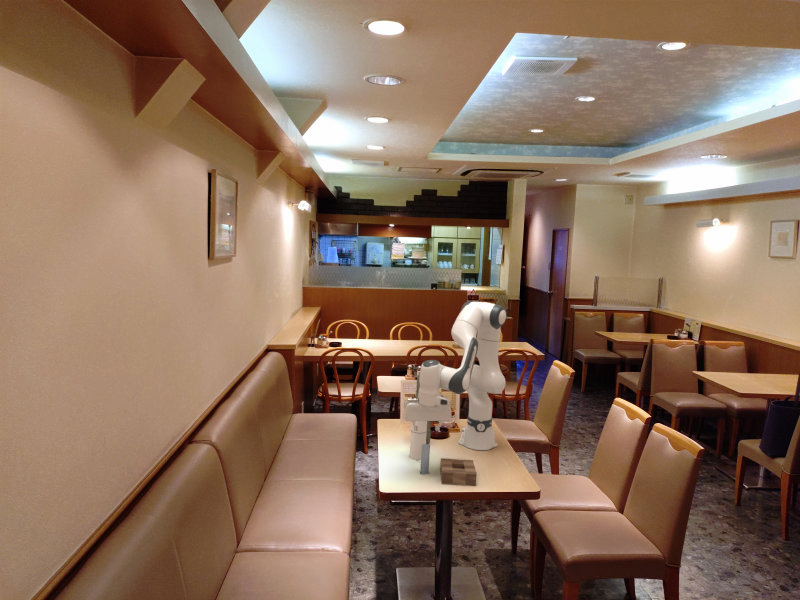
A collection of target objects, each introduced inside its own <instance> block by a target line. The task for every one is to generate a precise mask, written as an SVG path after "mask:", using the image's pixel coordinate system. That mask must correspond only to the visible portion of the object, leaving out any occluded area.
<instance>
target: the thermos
mask: <svg viewBox="0 0 800 600" xmlns="http://www.w3.org/2000/svg"><path fill="white" fill-rule="evenodd" d="M419 378H420V371H419V372H418V374H417V377H416V390H415V391H416V392H415V394H414V399H418V394H419V388H420V382H419ZM431 434H432V430H431V421H427V432H426V444H429V445H430V443H431Z"/></svg>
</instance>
